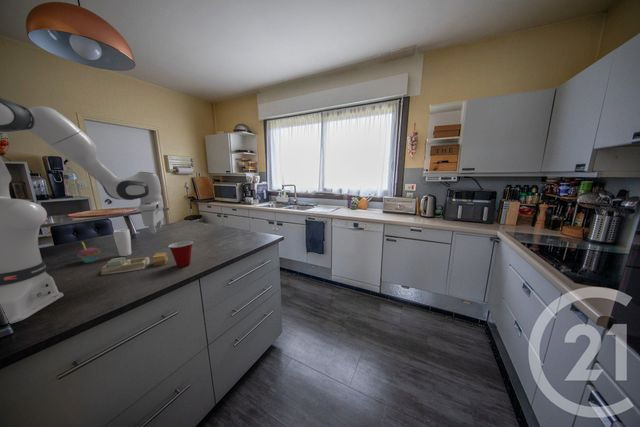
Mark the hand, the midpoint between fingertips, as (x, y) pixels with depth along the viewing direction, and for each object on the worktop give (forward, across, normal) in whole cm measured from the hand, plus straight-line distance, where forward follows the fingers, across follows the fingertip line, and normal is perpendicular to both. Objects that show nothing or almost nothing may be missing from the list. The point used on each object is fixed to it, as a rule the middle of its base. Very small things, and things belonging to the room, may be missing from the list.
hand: (156, 230), depth 109 cm
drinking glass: (+18, -22, -22) cm, 36 cm away
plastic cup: (+18, +7, +11) cm, 23 cm away
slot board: (+18, 0, -14) cm, 23 cm away
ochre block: (+18, 0, 0) cm, 18 cm away
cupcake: (+18, -19, -36) cm, 45 cm away
